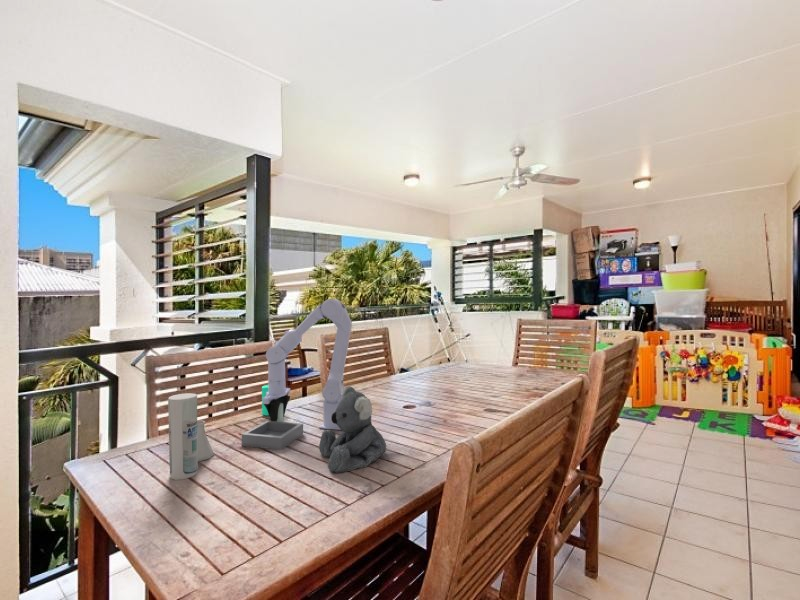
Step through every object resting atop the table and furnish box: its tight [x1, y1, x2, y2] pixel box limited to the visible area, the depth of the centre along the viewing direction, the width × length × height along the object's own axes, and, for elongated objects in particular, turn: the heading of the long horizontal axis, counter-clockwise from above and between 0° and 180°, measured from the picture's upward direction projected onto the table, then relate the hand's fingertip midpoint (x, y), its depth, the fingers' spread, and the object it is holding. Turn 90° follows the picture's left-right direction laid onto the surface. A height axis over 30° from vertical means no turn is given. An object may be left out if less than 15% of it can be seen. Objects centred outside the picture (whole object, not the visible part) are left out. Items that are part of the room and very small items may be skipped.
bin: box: [241, 420, 304, 451], centre depth 127 cm, size 13×13×4 cm
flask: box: [197, 420, 215, 462], centre depth 114 cm, size 7×7×10 cm
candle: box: [261, 384, 269, 416], centre depth 155 cm, size 6×6×12 cm
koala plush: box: [318, 384, 387, 473], centre depth 112 cm, size 17×18×20 cm
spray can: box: [167, 392, 199, 481], centre depth 103 cm, size 6×6×20 cm
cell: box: [277, 403, 284, 422], centre depth 140 cm, size 4×4×8 cm
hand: (277, 419), depth 140 cm, fingers closed on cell, 4 cm apart
